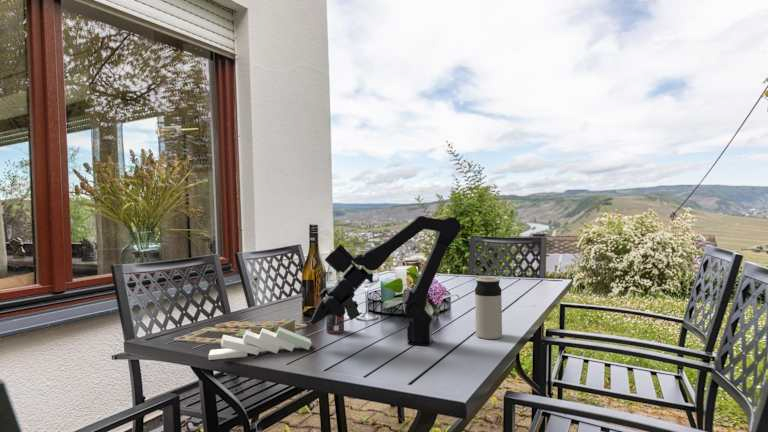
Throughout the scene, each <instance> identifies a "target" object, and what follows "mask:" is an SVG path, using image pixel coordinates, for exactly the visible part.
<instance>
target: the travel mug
mask: <svg viewBox="0 0 768 432" xmlns="http://www.w3.org/2000/svg"><path fill="white" fill-rule="evenodd" d="M475 281H476V286H475V288H474V295H475V297H474V298H475V299H474V301H475V302H474V304H475V306H474V307H475V309H474V310H475V312H474V313H475V336H476V337H478V338H479V339H484V340H498V339H500V338H502V337H503V323H502V322H503V319H502V317H503V313H502V312H503V311H502V310H503V309H502V308H503V306H502V305H503V304H502V302H503V299H502V288H501V286H500V281H501V278H499V277H493V276H481V277H479V276H478V277H476V278H475Z"/></svg>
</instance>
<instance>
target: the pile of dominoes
mask: <svg viewBox="0 0 768 432" xmlns="http://www.w3.org/2000/svg"><path fill="white" fill-rule="evenodd" d="M279 327H281V328H283V329H286V330H288V331H291V332H293V333H296V331H298V330H301V329H305V328H307V327H308V324H306V323H297V324H296V320H295V319H294V318H284V319H282V320H279V321H272V320H271V321H270V320H269V321H268V320H262V321H253V322H250V321H245V320H244V321H238V320H232V321H226V322H222V323H221V322H220V323H218V324H215V325H214V327H209V326H208V327H207V326H206V327H204V328H202V329H198V330H196V331H193V332H190V333H187V334H184V335H182V336H178V337H174V338H173V342H178V341H187V342H186V343H195V342H196V343H195V344H203V343H204V344H206V345H220V346H221V339H222V338H213V337H212V338H211V337H201V336H202V335H205V334H207V333H223V334H235V335H234V337H236V338H241V339H243V336H244V333H245V331H246V330H248V331H250V332H253V333H256V334H258V335H259V334H260V332H261V330H262V328H264V329H266V330H269V331H271V332H274V333H276V332H277V330H278V328H279Z"/></svg>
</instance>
